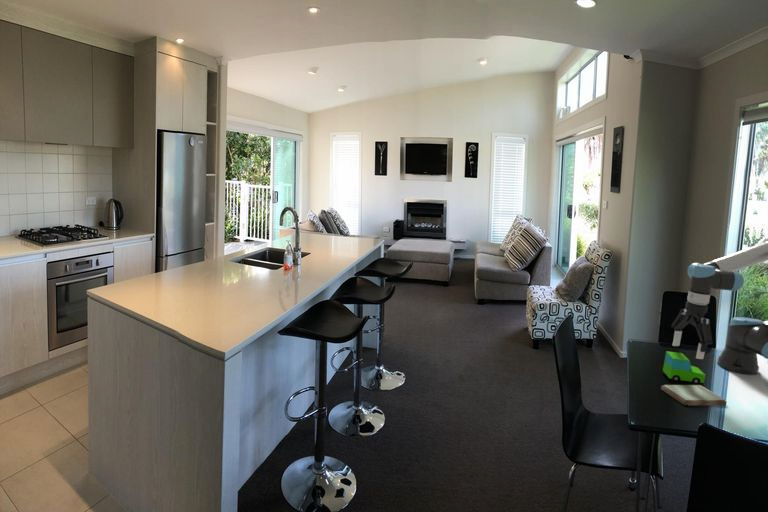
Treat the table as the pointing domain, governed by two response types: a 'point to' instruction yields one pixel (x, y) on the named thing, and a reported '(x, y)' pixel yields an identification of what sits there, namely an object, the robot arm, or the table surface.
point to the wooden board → (693, 395)
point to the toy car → (681, 369)
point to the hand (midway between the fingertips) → (687, 352)
